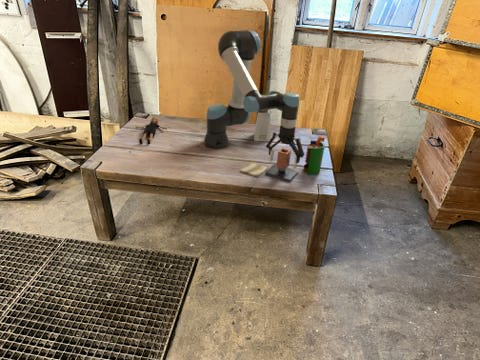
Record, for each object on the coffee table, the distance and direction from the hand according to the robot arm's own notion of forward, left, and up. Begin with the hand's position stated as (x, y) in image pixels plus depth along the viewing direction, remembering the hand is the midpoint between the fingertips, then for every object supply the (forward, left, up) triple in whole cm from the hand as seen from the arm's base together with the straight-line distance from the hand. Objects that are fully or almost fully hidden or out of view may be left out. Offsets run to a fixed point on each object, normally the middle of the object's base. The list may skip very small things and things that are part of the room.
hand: (282, 164), depth 167 cm
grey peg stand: (0, 0, -6) cm, 6 cm away
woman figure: (-92, -1, -6) cm, 92 cm away
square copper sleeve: (0, 0, -1) cm, 1 cm away
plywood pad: (-14, -5, -6) cm, 16 cm away
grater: (-30, +36, -6) cm, 47 cm away
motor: (+12, +13, -6) cm, 19 cm away
